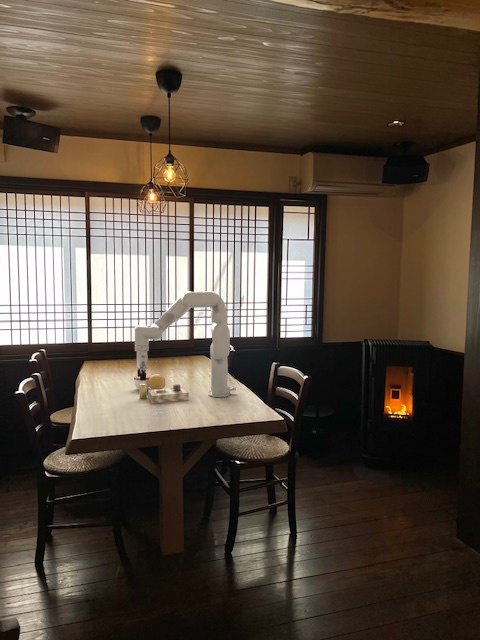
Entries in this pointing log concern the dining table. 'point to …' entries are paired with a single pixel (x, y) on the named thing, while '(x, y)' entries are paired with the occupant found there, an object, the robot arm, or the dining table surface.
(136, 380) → the lidded jar
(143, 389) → the brass cylinder
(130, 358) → the dining table surface
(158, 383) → the stress ball
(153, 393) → the jig
